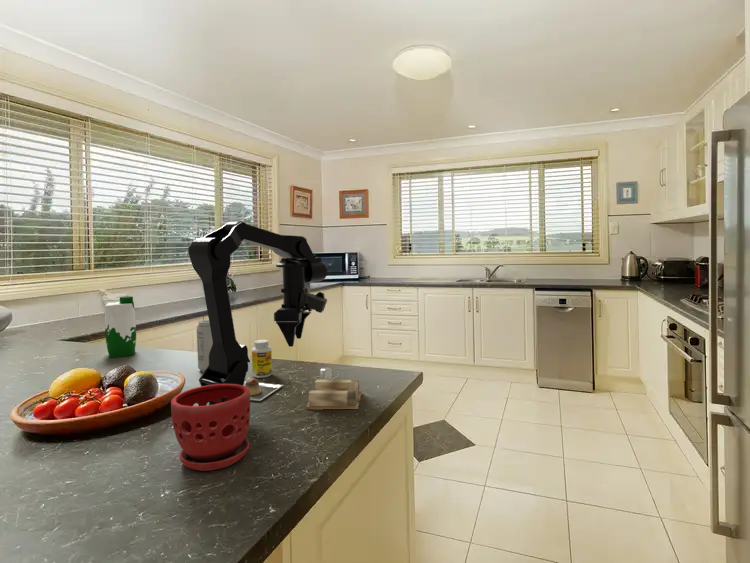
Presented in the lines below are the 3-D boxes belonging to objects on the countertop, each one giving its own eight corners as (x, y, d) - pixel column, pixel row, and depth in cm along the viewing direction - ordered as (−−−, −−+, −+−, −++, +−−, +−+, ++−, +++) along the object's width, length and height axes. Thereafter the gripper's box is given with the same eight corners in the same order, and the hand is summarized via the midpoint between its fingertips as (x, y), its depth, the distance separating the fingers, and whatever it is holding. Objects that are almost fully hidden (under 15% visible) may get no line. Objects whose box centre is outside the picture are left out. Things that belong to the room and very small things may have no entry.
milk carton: (136, 355, 148) (133, 298, 146) (105, 358, 144) (101, 299, 142) (138, 350, 156) (135, 295, 154) (108, 352, 152) (105, 296, 150)
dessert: (284, 388, 115) (283, 371, 115) (260, 404, 104) (260, 385, 104) (244, 384, 119) (244, 367, 118) (217, 400, 107) (217, 381, 107)
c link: (359, 391, 110) (359, 380, 109) (355, 406, 100) (355, 393, 99) (316, 391, 110) (316, 379, 110) (308, 405, 100) (308, 393, 100)
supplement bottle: (256, 379, 121) (254, 344, 120) (249, 374, 126) (248, 340, 125) (274, 376, 124) (274, 341, 124) (268, 371, 129) (267, 338, 128)
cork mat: (357, 409, 99) (357, 407, 99) (306, 409, 100) (306, 406, 100) (361, 393, 110) (361, 391, 110) (314, 392, 110) (314, 390, 110)
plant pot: (259, 440, 84) (257, 380, 83) (240, 476, 71) (238, 406, 70) (191, 441, 84) (188, 381, 82) (160, 478, 70) (156, 407, 69)
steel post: (330, 387, 115) (330, 370, 114) (319, 387, 115) (319, 370, 115) (332, 383, 118) (332, 367, 117) (321, 383, 118) (321, 367, 118)
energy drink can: (219, 371, 129) (218, 322, 128) (198, 373, 127) (196, 323, 126) (219, 366, 135) (217, 319, 134) (198, 368, 133) (196, 320, 131)
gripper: (318, 287, 104) (319, 351, 105) (329, 281, 122) (330, 335, 124) (272, 287, 104) (274, 350, 105) (290, 281, 123) (291, 334, 124)
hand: (295, 342), depth 115 cm, fingers open, 9 cm apart
